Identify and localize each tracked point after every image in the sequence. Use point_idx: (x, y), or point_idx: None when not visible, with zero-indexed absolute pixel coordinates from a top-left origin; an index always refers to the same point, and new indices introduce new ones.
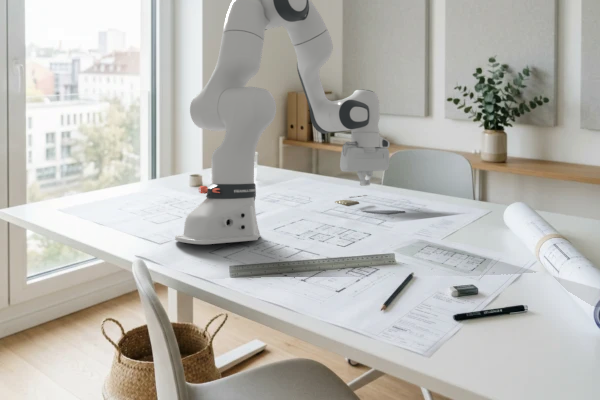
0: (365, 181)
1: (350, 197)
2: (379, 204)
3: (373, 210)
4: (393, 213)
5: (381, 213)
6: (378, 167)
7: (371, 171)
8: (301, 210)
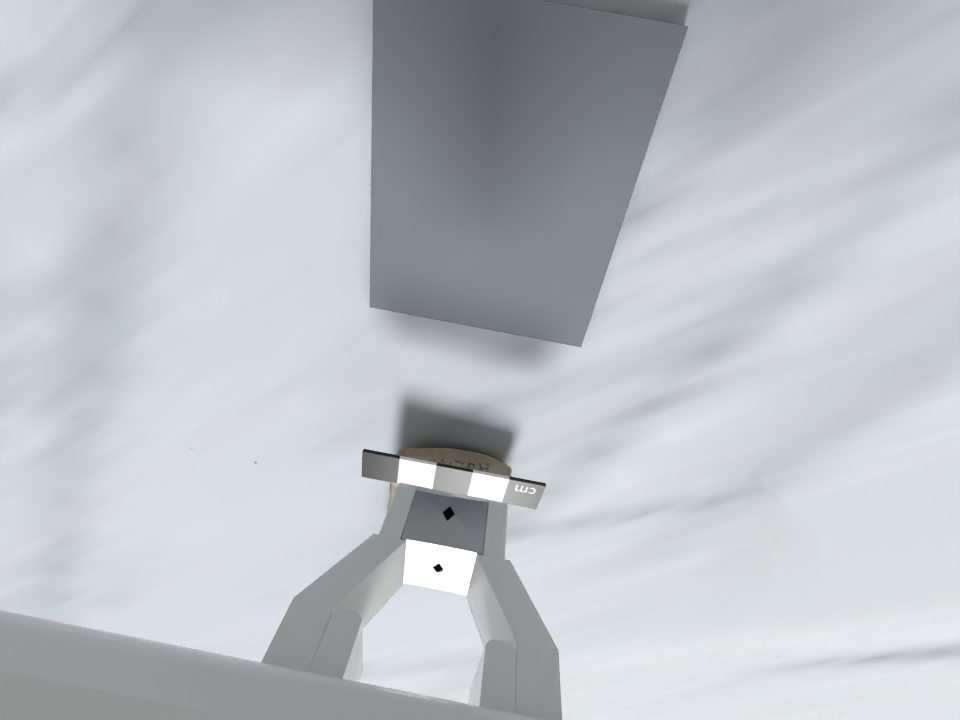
0: (481, 535)
1: (540, 495)
2: (82, 468)
3: (508, 279)
4: (573, 9)
5: (657, 110)
6: (61, 712)
7: (299, 665)
8: (646, 597)
